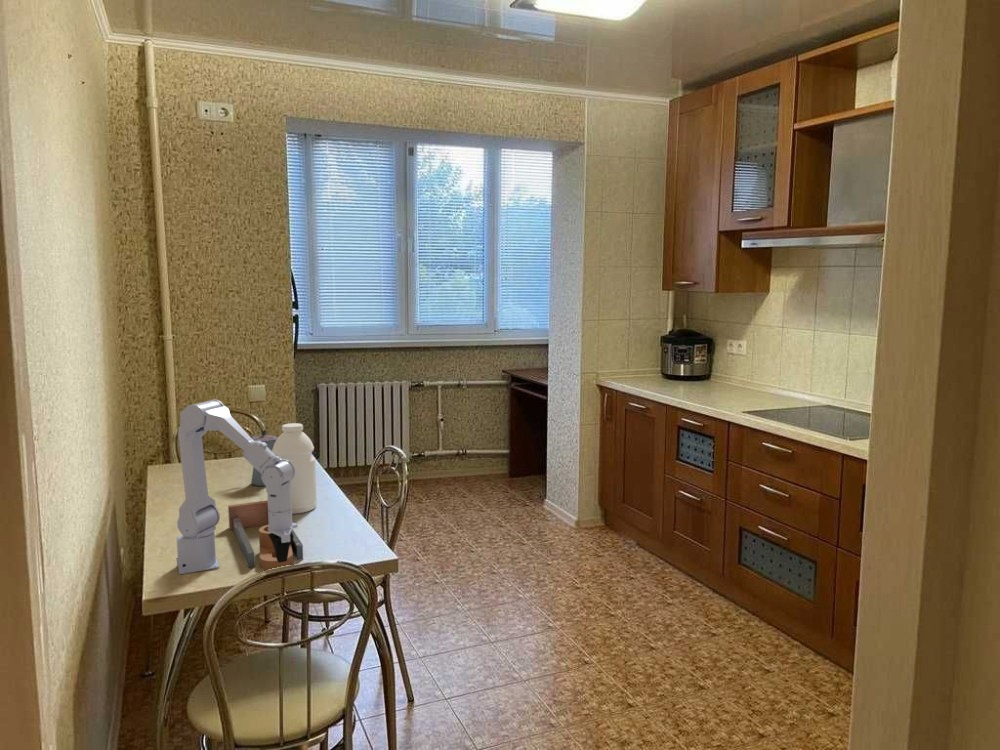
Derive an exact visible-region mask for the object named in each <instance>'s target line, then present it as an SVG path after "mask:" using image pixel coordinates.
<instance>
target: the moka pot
mask: <svg viewBox="0 0 1000 750" xmlns="http://www.w3.org/2000/svg"><path fill="white" fill-rule="evenodd" d="M261 433H262V435H261V434H260V435H250V434H248V435H249V436H250V437H251V438H252V439H253V440H254V441H261V442H262V443H263V442H265V443H266V444H267V447H268V448H269V449H270V450H271V451H272V449H273V446H274V444H275V442H276V440H277V438H278V437H277V436H275V435H270V434H267V430H262V431H261ZM252 467H253V466H252ZM261 476H262V474H261V473H260V472H259V471H258V470H256V469H255V468H254V467H253V468H252V475H251V484H252V485H253V486H256V487H258V486H259V487H266V486H265V484H264V483H263V481H262V478H261Z"/></svg>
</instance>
